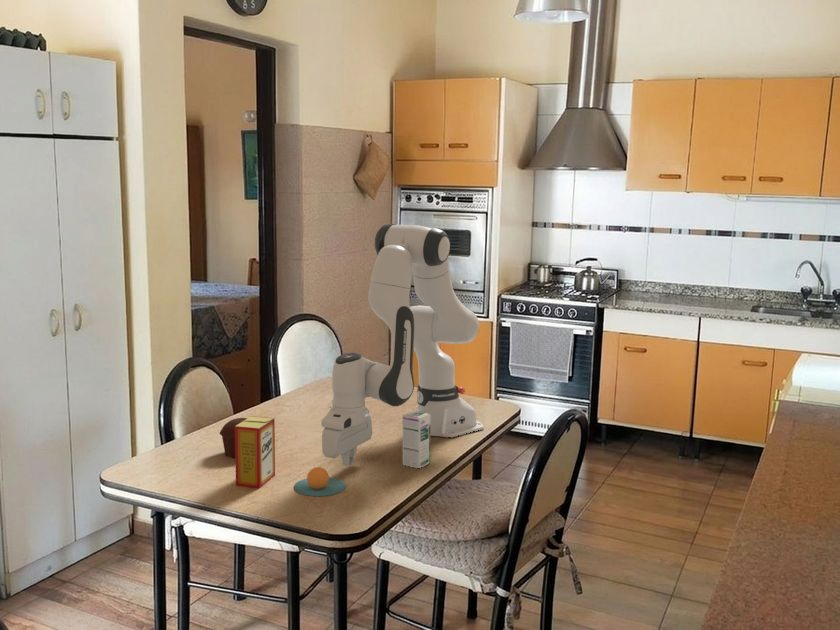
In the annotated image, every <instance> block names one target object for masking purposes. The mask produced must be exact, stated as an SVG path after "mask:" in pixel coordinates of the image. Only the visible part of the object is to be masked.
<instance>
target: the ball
mask: <svg viewBox="0 0 840 630" xmlns="http://www.w3.org/2000/svg"><path fill="white" fill-rule="evenodd" d="M329 477H330V475H329V473H328V471H327V470H326V469H325V468H323V467H320V466H316V467H313V468H312V469H310V470H309V472H308V473H307V476H306V479H307V482H308V484H309V486H310V487H312V488H313V489H322V488H324V487H325V486H326V485H327V484H328V481H329Z"/></svg>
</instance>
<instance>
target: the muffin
mask: <svg viewBox="0 0 840 630" xmlns="http://www.w3.org/2000/svg"><path fill="white" fill-rule="evenodd" d="M248 418H249V417H247V418H245V417H237V418H233V419H230V420H229V421H227V422H226V423H225V424H224V425H223V426H222V428H221V430H220V431H219V434H220V436H221V438H222V443H223V448H224V454H225V457H227V456H228V458H229V459H235V426H236V425H238V424H239V423H241V422H243V421H244V420H246V419H248Z"/></svg>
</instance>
